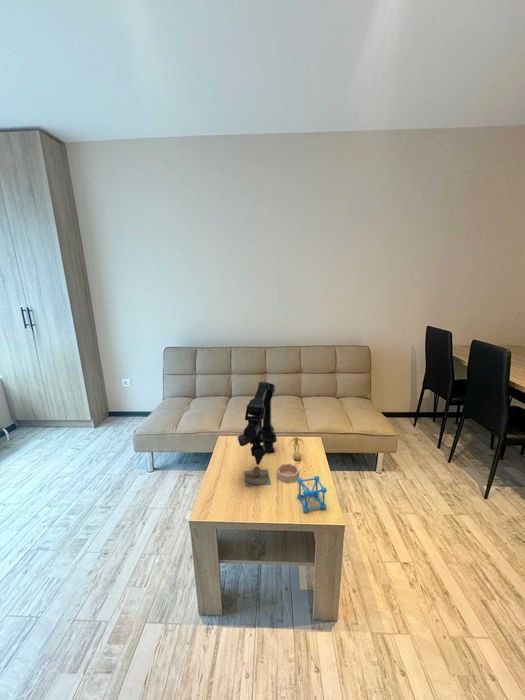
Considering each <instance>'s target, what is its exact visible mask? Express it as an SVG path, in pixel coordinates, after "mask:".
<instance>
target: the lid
mask: <svg viewBox="0 0 525 700" xmlns="http://www.w3.org/2000/svg"><path fill="white" fill-rule="evenodd" d="M248 471H249V472H247V474H246V481H247V482H248V483H249V484H252V485H262V484H264V483H266V482H267V481H268V473H269V472H268V473H267V472H266V471H264V469H261V468H260V467H259V466H254V467H253V469H251V470H248Z"/></svg>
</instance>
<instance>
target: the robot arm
mask: <svg viewBox="0 0 525 700" xmlns="http://www.w3.org/2000/svg"><path fill="white" fill-rule="evenodd" d="M275 392H276V385H275V384H274V383H270V382H267V381H260V382H258V387H257V390H256V393H255V395H254V397H253V398H252V399H251V400H249V402H248V404H247V405H246V410H245V416H244V421H248V422H247V424H246V426H245V428H244V430H243V433H242V434H240V435H238V436H237V441H238V443H239V446H240V447H244V446H247V445H248V444H249V445H252V446H251V447H250V454H251V457H254V459H255V464H256V465H260V463H261V461H262V459H263V458H264V456H266V454H275V453H276V451H275V448H274V444H275V443H277V441H278V438H277V434H276V432H275V428H274V425H272V398H273V396H274V395H275Z"/></svg>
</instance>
